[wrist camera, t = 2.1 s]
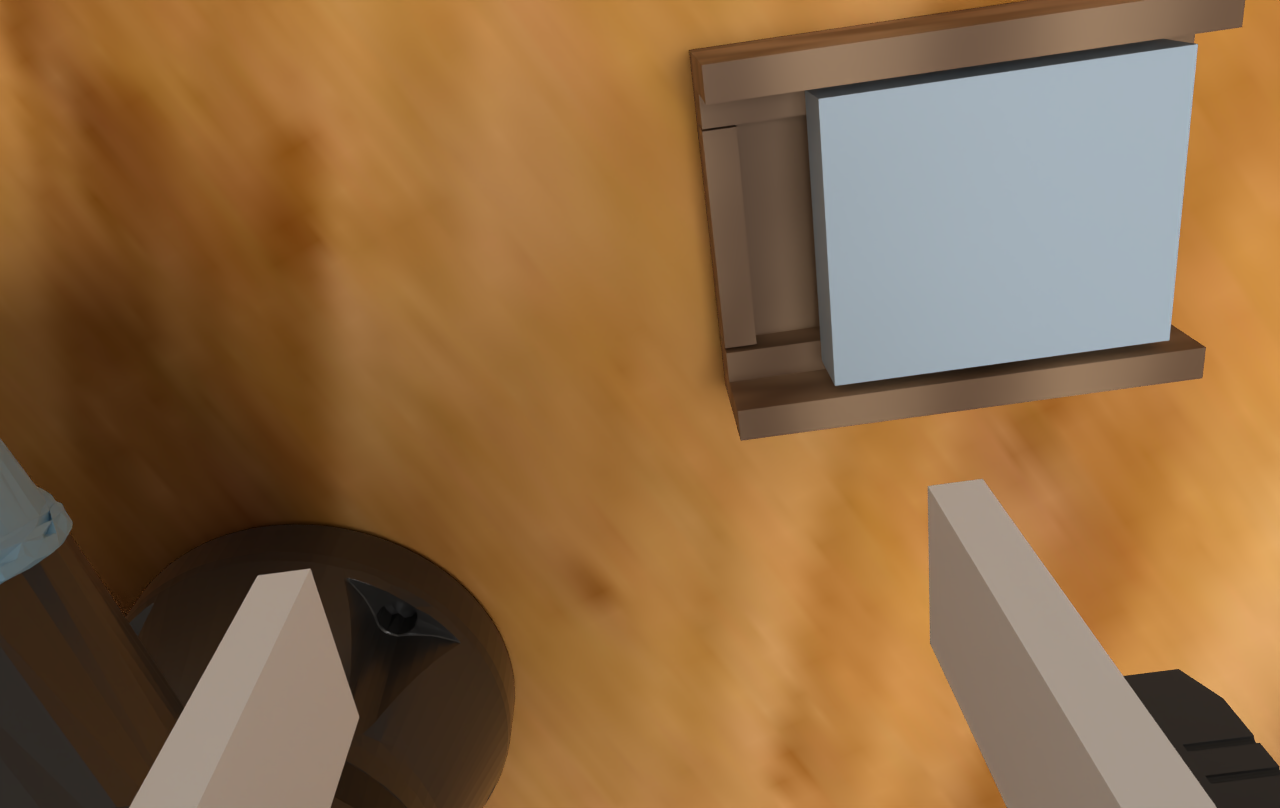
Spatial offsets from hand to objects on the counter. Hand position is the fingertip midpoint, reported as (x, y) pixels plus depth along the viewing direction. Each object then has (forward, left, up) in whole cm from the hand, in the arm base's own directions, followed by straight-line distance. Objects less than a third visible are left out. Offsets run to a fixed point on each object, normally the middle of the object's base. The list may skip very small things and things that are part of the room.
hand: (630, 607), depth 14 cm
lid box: (+10, 0, -19) cm, 22 cm away
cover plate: (+11, 0, -17) cm, 21 cm away
